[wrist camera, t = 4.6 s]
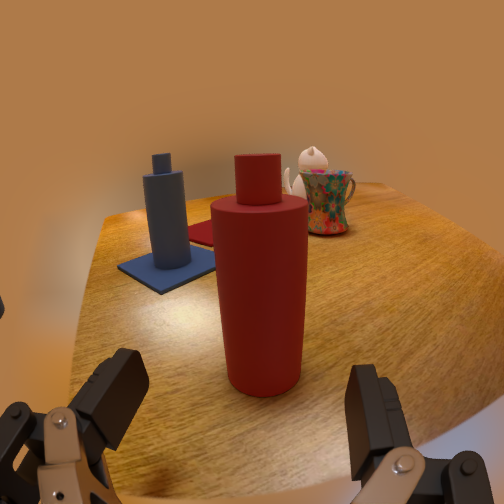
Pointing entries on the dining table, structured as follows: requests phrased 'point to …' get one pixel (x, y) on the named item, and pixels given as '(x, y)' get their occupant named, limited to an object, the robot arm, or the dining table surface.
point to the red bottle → (261, 277)
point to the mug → (327, 199)
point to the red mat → (201, 233)
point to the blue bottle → (167, 214)
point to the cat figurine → (306, 162)
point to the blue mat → (169, 270)
